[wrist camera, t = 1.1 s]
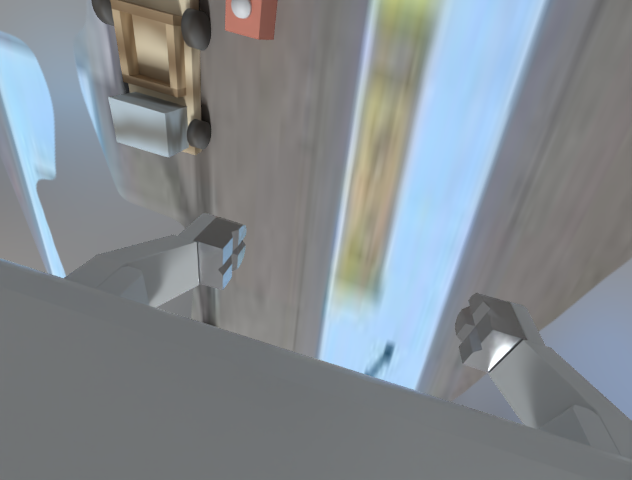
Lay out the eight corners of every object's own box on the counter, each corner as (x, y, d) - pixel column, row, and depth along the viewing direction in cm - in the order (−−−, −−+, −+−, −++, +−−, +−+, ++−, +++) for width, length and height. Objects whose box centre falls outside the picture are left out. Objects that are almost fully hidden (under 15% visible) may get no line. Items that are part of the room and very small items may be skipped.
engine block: (246, -20, 34) (222, -30, 29) (278, -12, 34) (260, -20, 29) (243, 31, 37) (221, 30, 32) (273, 39, 37) (255, 39, 32)
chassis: (112, -29, 37) (60, -42, 31) (210, -3, 36) (176, -11, 30) (136, 131, 48) (101, 143, 43) (211, 154, 48) (186, 169, 42)
